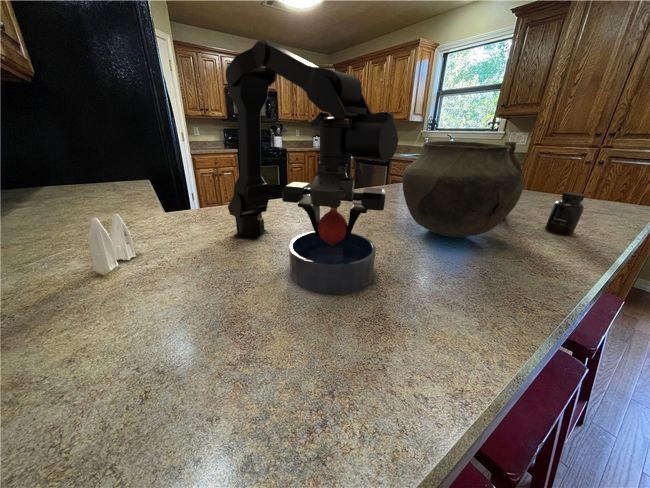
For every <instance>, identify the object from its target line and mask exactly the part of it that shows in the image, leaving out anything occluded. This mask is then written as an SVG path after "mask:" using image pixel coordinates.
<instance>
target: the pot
mask: <svg viewBox="0 0 650 488" xmlns="http://www.w3.org/2000/svg"><path fill="white" fill-rule="evenodd" d="M510 149H511V146H506V145H505V144H496V143H483V142H477V141H476V142H475V141H459V140H458V141H456V140H436V141H435V140H433V141H425V142H424V143H423V147H422V151H421V152H420V155H419V156H418V157H417V158H416V159H415V160H414V161H413V162H412V163H410V164H409V165H408V166H406V167H405V169H404V170H403V172H402V177H401V179H402V184H401V185H402V193H403V197H404V201H405V204H406V207H407V209H408V212H409V214H410V216H411V218H412V219H413V220H414V221H415V223H416V224H417V225H419V226H420V227H422V228H424V229H426V230H428V231H430V232H432V233H434V234H437V235H439V236H443V237H448V238H449V237H450V238H467V237H475V236H478V235H482V234H485V233H487V232H489V231H492V230H493V229H495V228H496V227H498V226H499V225H500V224H501V223H502V222H503V221H505V220H506V219H507V217H508V216H509V214H510V213H511V212H512V211H513V210H514V208H515V207H516V206H517V204H518V202H519V200H520V198H521V196H522V194H523V190H524V185H525V184H524V174H523V173H521V172H520V171H519V170H518V169H517V168H516V167H515V166H514V165H513V163H512V161H511V160H510V154H509V151H510ZM505 218H506V219H505ZM504 219H505V220H504Z"/></svg>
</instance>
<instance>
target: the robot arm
mask: <svg viewBox="0 0 650 488" xmlns="http://www.w3.org/2000/svg"><path fill="white" fill-rule="evenodd" d="M278 76H280V77H282V78H284V79H285V80H287V81H289V82H291V83H292V84H294V85H295V86H297V87H299V88H300V89H302V90H303V91H304V92H305V94H306V96H307V99H308V100H309V101H310V102H311V103H312V104H313V105H314V106H315V107H316V108H317V109H319V111H320V112H318V114H317V116H316V117H315V118H313V120H311V122H310V127H312V128H319V158H318V159H319V162H317V163H318V164H317V172H316V174H315V177H314V179H313V180H312V183H311V184H310V182H300V181H292V182H290V183H288V184H287V185H284V187H283V188H282V191H281V201H282V202H284V203H292V204H297V205H296V206H297V208H302V209H303V210H304V212H305V213H306V214H307V216H308V218H309V221H310V223H311V225H312V229H313V231H314V232H315V234H316V237H319V232H318V224H319V221H320V219H321V207H327V208H330V209H331V208H337V209H338V208H339V207H340V206H341V205H342V202H350V203H352V206H351V207H350V209H349V216H348V221H347V225H348V227H347V232H346V240H348V239H349V236H350V234H351V233H353V232H352V231H353V229H354V226H355V224H356V222H357V220H358V218H359V217H360V216H361V214H367V213H368V211H384V209H385V203H386V194H387V192H386V191H385V189H384V188H379V187H364V189H363V190H362V191H355V187H356V186H355V184H356V183H355V177H352V164H353V158H354V159H360V160H368V161H369V160H370V161H377V162H386V163H387V162H390V161H391V160H392V159H393V157H395V154H396V151H397V148H398V144H399V136H398V129H397V126H396V123H395V122H394V118H395V114H394V112H386V111H381V112H377V113H372V111H371V109H370V106H369V105H368V103H367V101H366V98H365V96H364V94H363V88H362V87H363V86H362V81H361V80H360V78H359V77H357V76H355V75H352V74H348V73H345V72H341V71H337V70H333V69H329V68H325V67H320V66H318V65H315V64H314V63H313V62H310V61H308V60H306V59H304V58H303V57H301V56H299V55H297V54H294V53H293V52H291V51H289V50H287V49H285V48H284V47H283V46H282V45H280V44H278V43H275V42H272V41H268V40H264V39H261V40H258V41H256V43H254V45H253V46H252V47H251V48H249V49H246V50H245V51H243V52H241V53H238V54H236V55H235V57H234V58H233V59H232V60H231V62H230V63H229V64H228V65H227V66H226V69H225V80H226V83H227V91H228V95H229V97H230V99H231V101H232V102H233V104H234V106H235V108H236V112H237V131H238V132H237V133H238V134H237V135H238V154H239V175H238V177H237V180H236V181H235V183H234V185H233V195H232V198H231V200H230V201H229V203H228V205H227V209H228V213H229V215H230V216H232V217H235V225H236V233H235V234H233V237H234V238H240V239H249V240H258V239H259V238H260V237H261V236H262V235H264V234H265V233H266V232H267V230H266V229H265V219H264V217H263V213H266V212H267V210H268V205H269V201H270V200H271V197H270V188H271V187H270V184H269V183H266V181H265V180H264V178H263V176H262V143H261V141H262V140H261V139H262V137H261V135H262V134H261V127H262V125H261V112H262V109H263V107H264V106H265V104H266V103H267V100H268V97H269V96H268V95H269V88H270V87H271V86H272V85H273V84H275V83H276V81H277V77H278ZM347 120H348V122H347Z"/></svg>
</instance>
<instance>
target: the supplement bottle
mask: <svg viewBox="0 0 650 488" xmlns="http://www.w3.org/2000/svg"><path fill="white" fill-rule="evenodd" d="M585 197H586V194H584V193H580V192H574V191H564V192H562V195H561V197H560V200H556V201H555V202H554V204H553V206H552V209H551V210H550V211H551V212H550V214H549V216H548V219H547V221H546V224H545V227H544V230H545V231H547V232H549V233H551V234H554V235H558V236H565V237H566V236H572V235H573V234H574V233H575V230H576V229H577V226H578V223H579V221H580V220H581V218H582V215H583V212H584V210H585V206H584V204H583V203H582V202H584V199H585Z"/></svg>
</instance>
